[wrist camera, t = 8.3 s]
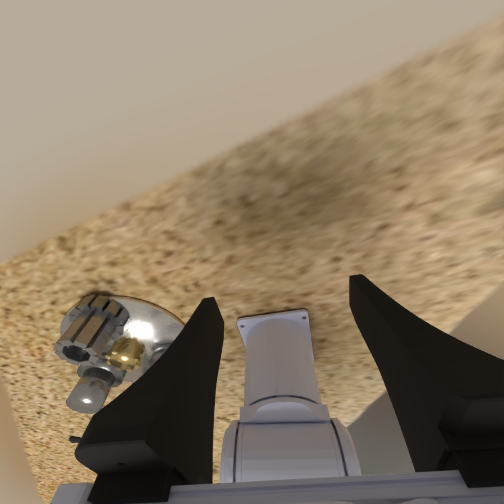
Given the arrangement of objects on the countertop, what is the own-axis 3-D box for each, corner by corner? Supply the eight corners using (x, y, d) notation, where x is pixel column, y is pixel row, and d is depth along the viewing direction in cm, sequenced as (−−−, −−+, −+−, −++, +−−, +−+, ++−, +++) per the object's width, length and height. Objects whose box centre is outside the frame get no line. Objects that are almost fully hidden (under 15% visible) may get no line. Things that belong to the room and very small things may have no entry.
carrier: (211, 372, 34) (204, 417, 29) (107, 384, 36) (84, 428, 31) (166, 285, 26) (146, 328, 21) (33, 307, 28) (-13, 350, 23)
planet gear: (138, 327, 28) (117, 367, 24) (95, 333, 29) (67, 373, 25) (114, 291, 25) (86, 330, 21) (67, 299, 26) (30, 338, 22)
